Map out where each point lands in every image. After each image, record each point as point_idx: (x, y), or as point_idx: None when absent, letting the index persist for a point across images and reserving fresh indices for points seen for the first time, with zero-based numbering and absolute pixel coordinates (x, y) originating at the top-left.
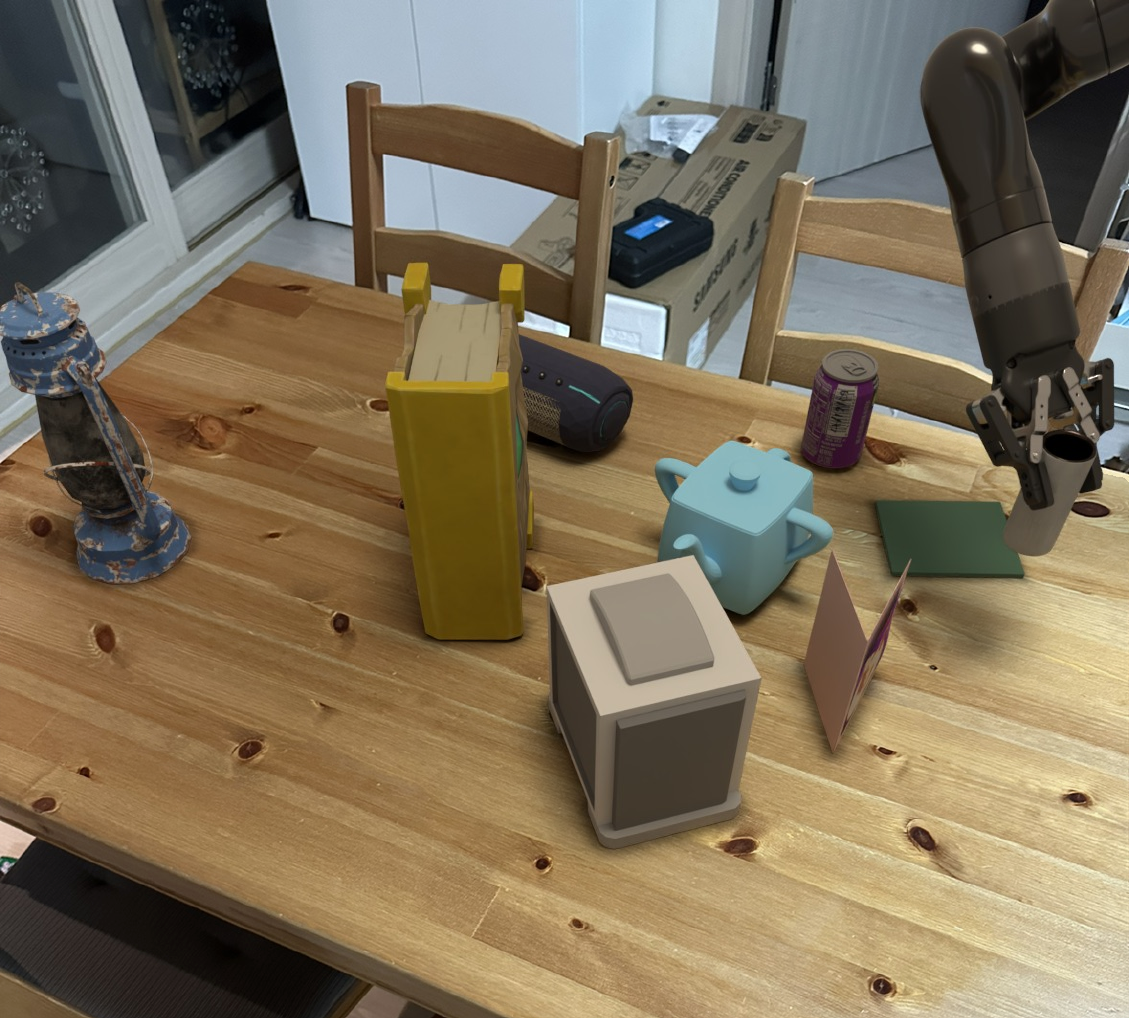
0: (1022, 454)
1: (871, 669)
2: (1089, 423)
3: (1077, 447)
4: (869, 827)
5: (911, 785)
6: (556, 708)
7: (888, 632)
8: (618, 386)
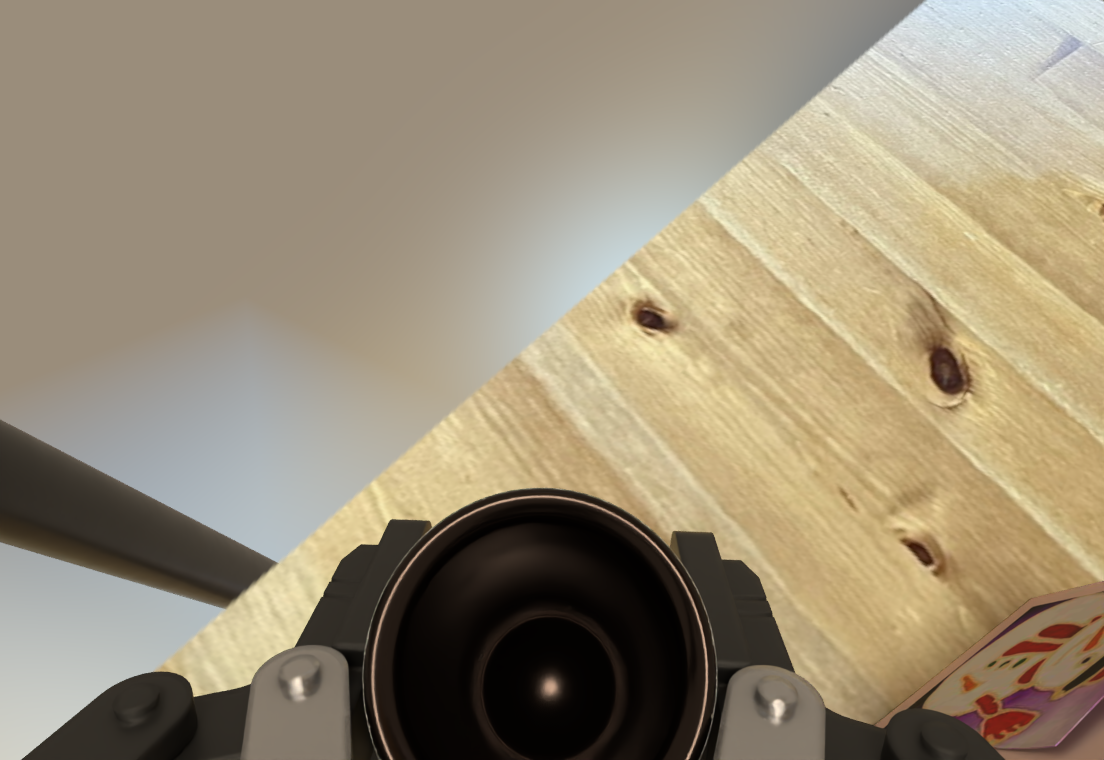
0: (896, 733)
1: (968, 687)
2: (275, 750)
3: (412, 690)
4: (1028, 427)
5: (910, 464)
6: None
7: None
8: None
